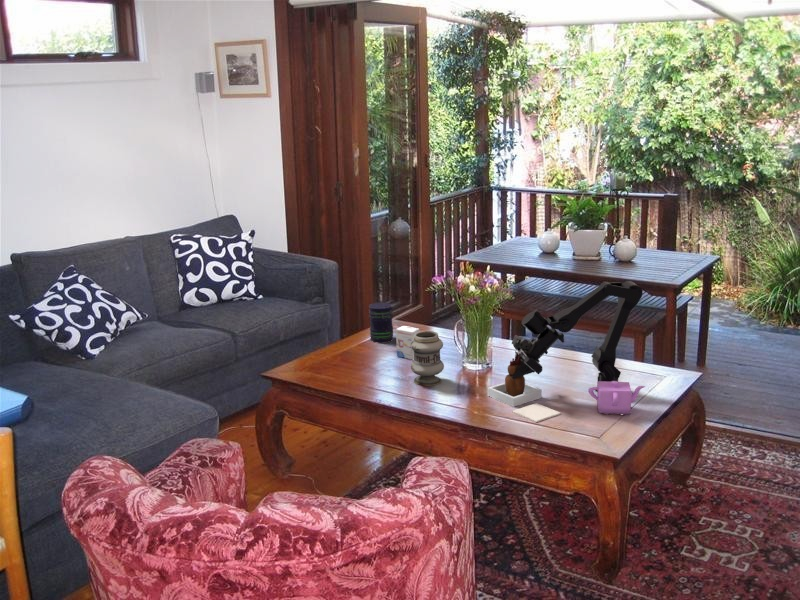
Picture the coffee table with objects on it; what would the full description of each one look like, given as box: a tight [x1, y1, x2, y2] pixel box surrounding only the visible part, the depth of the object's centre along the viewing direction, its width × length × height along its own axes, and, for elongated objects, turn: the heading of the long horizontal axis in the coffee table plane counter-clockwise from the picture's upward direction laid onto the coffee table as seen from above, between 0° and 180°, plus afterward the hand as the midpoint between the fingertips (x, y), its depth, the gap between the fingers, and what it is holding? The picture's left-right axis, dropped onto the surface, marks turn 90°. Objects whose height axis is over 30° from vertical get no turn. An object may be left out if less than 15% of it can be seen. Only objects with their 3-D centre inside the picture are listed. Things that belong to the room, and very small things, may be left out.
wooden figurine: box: [504, 353, 526, 397], centre depth 293 cm, size 7×6×15 cm
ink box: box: [395, 325, 421, 360], centre depth 339 cm, size 9×5×12 cm, turn 55°
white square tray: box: [487, 382, 543, 408], centre depth 295 cm, size 13×13×3 cm
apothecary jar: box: [410, 330, 445, 387], centre depth 310 cm, size 12×12×18 cm
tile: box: [512, 402, 561, 423], centre depth 281 cm, size 11×11×1 cm
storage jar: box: [368, 301, 394, 344], centre depth 362 cm, size 10×10×15 cm
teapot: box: [587, 380, 646, 415], centre depth 279 cm, size 18×14×10 cm
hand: (510, 375), depth 293 cm, fingers closed on wooden figurine, 4 cm apart
